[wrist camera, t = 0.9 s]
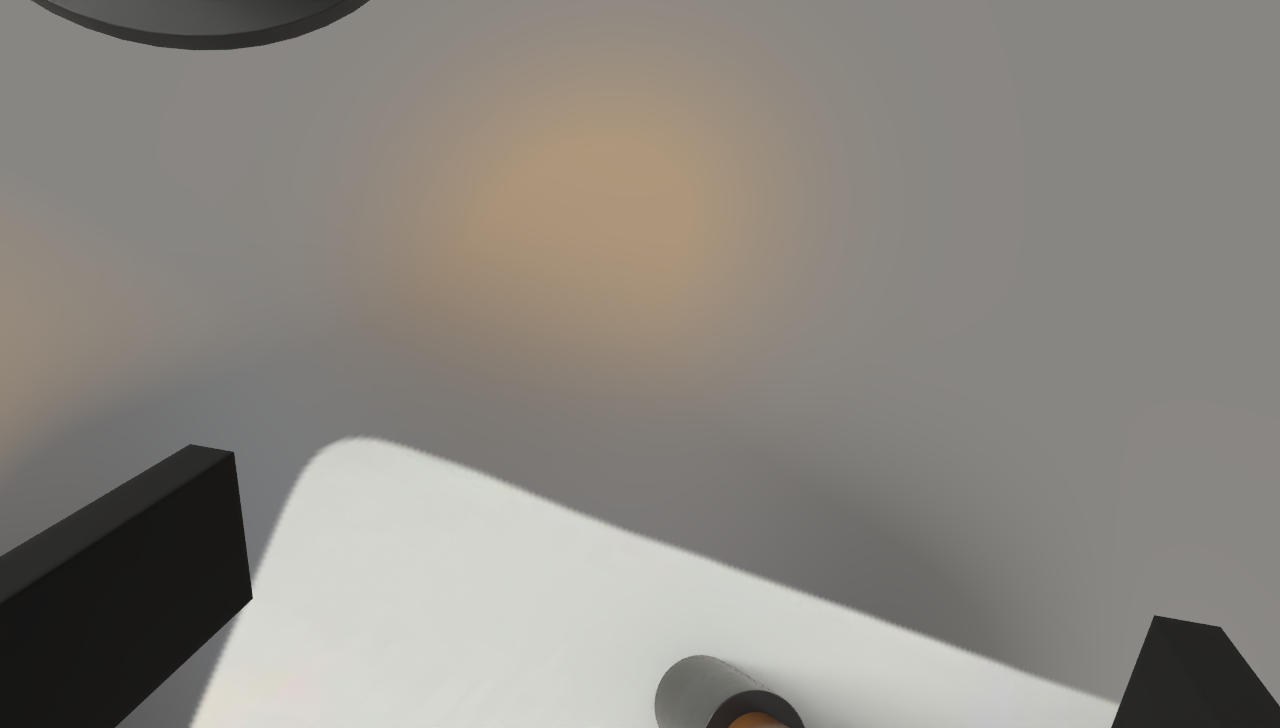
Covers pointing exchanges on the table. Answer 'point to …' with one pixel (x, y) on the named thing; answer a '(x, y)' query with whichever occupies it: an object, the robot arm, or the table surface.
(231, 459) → the robot arm
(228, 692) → the table surface
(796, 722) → the wooden handled pestle
